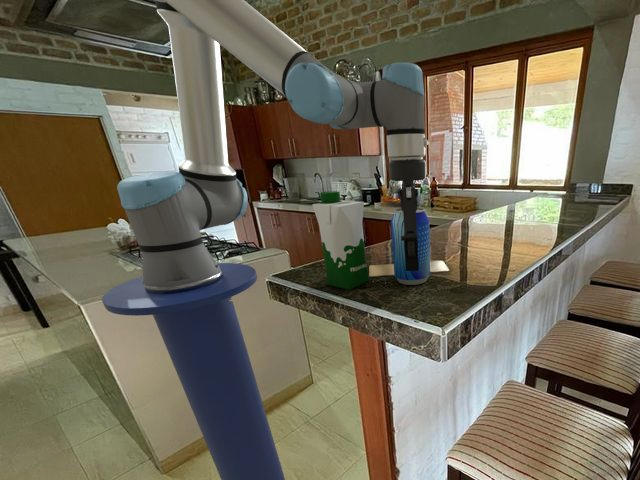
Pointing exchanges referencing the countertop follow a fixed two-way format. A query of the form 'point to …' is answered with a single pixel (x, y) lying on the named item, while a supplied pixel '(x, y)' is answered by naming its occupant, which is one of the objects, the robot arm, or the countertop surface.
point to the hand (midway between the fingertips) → (411, 261)
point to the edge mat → (389, 269)
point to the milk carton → (342, 240)
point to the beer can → (399, 248)
